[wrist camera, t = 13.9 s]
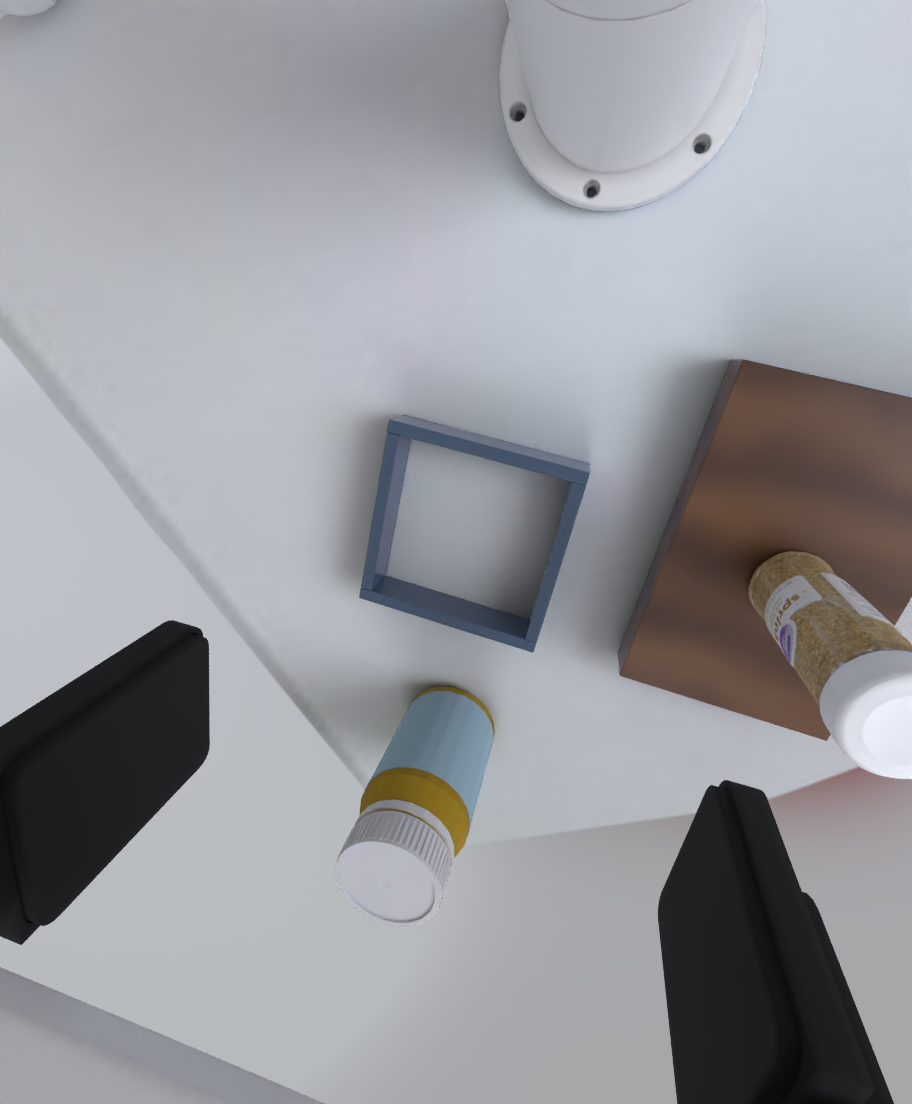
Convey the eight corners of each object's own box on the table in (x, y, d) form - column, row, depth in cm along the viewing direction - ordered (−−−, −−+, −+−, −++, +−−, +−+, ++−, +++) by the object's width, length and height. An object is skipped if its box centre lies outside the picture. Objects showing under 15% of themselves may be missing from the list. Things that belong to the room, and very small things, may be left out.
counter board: (730, 358, 32) (743, 359, 29) (977, 415, 30) (1016, 421, 27) (617, 653, 39) (619, 676, 36) (810, 712, 37) (827, 741, 35)
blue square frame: (404, 414, 37) (388, 419, 34) (590, 463, 35) (590, 472, 33) (374, 582, 42) (358, 598, 39) (537, 632, 40) (533, 653, 37)
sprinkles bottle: (737, 562, 32) (824, 691, 20) (825, 538, 31) (977, 662, 18) (757, 631, 33) (852, 793, 21) (843, 611, 32) (1000, 774, 20)
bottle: (503, 695, 42) (457, 859, 29) (487, 767, 45) (439, 949, 31) (416, 671, 44) (332, 818, 30) (405, 743, 46) (323, 908, 32)
